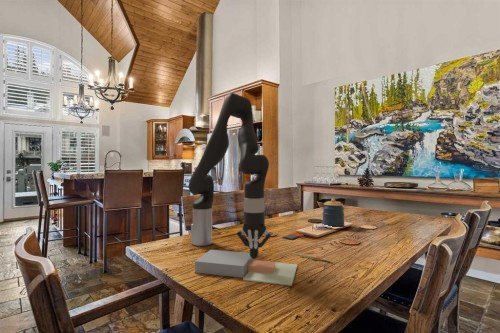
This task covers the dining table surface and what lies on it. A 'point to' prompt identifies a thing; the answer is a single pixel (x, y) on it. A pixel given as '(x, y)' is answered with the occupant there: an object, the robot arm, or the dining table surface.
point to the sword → (310, 257)
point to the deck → (223, 263)
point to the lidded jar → (333, 213)
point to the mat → (274, 275)
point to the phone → (293, 236)
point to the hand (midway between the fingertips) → (254, 258)
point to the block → (261, 266)
